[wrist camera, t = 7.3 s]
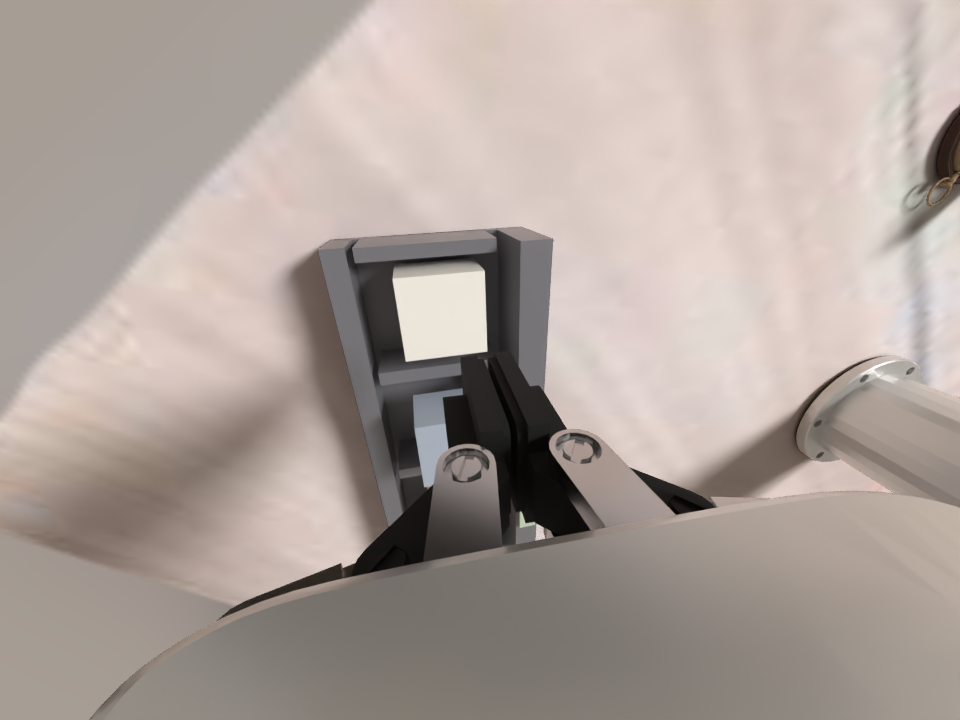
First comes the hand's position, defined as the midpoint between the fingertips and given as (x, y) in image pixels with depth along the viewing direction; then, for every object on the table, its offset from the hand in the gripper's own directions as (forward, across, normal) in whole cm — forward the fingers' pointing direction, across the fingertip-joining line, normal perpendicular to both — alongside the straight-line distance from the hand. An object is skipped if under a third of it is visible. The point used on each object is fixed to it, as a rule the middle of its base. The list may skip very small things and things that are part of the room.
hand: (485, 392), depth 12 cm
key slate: (+8, +1, +7) cm, 11 cm away
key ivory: (+10, +1, 0) cm, 10 cm away
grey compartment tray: (+12, +1, +11) cm, 16 cm away
